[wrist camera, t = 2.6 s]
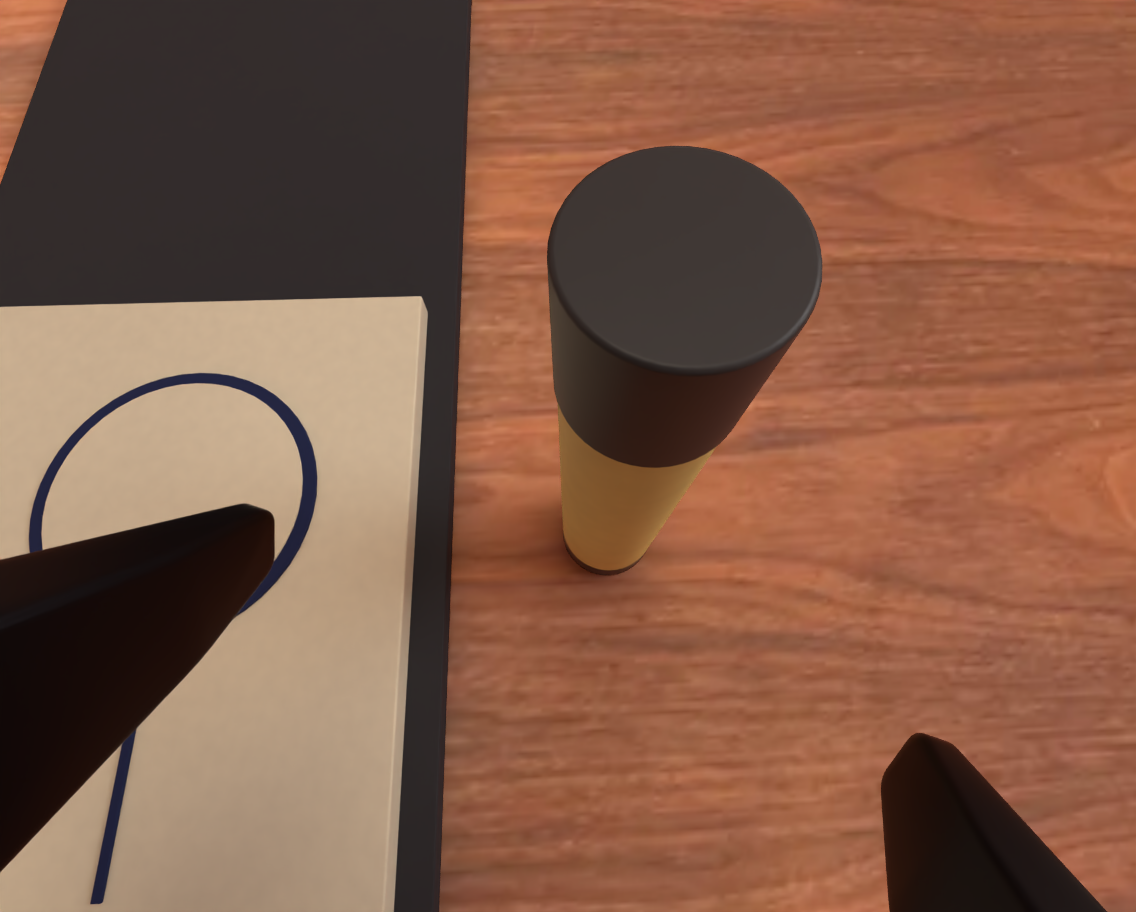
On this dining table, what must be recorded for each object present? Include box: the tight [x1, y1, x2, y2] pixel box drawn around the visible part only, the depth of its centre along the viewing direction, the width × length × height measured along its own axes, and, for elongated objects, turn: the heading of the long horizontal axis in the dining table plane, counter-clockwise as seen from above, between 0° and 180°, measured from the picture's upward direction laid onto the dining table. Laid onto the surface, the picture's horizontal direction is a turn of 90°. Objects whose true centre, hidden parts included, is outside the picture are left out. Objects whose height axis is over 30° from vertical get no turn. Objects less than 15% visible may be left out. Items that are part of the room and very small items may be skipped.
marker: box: [547, 146, 822, 575], centre depth 13 cm, size 3×3×14 cm
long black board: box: [0, 0, 471, 912], centre depth 26 cm, size 66×18×2 cm, turn 2°
